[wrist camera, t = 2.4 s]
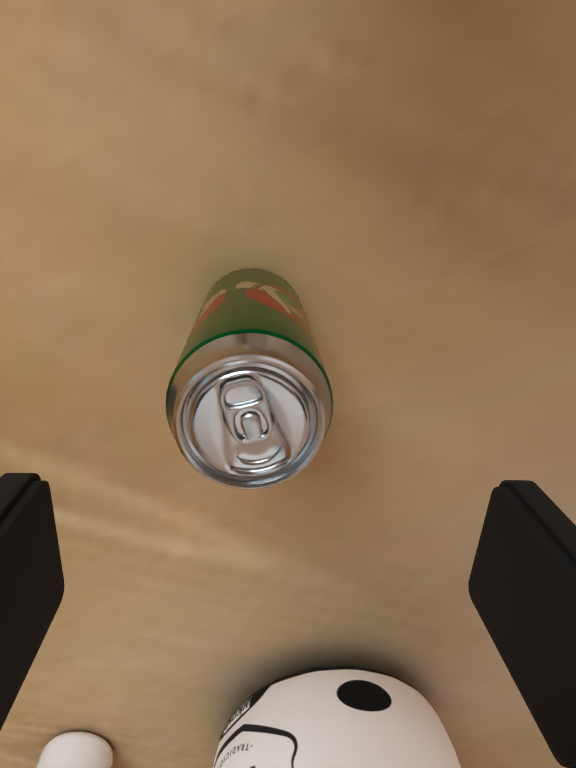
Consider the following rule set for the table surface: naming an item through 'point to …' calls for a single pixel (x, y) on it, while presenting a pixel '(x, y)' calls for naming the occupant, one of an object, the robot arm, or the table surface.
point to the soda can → (250, 385)
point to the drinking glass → (76, 752)
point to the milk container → (335, 724)
